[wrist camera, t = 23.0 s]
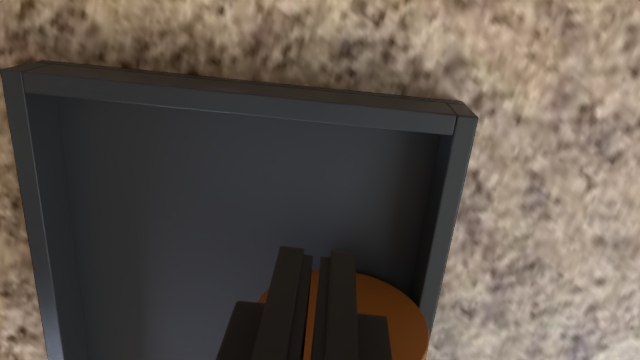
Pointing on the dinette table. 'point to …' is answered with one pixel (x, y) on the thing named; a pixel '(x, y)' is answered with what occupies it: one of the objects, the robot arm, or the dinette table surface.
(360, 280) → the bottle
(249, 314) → the robot arm
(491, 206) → the dinette table surface
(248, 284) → the tray
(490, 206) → the dinette table surface
